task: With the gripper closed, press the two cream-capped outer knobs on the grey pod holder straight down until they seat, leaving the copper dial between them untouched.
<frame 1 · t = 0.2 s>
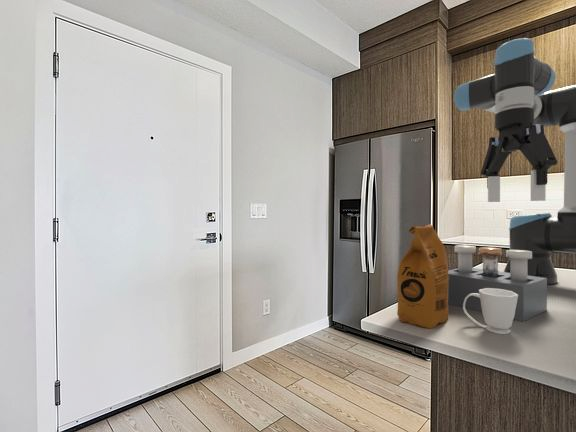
hand: (514, 201, 76), 27 cm above the table, tool pointing down, fingers open, 13 cm apart
cup: (489, 329, 69), on the table
knob 1: (465, 261, 90), point 11 cm above the table, slide at 0.0 cm
coffee package: (423, 319, 75), on the table
knob 2: (518, 268, 79), point 11 cm above the table, slide at 0.0 cm
dial knob: (490, 264, 85), point 11 cm above the table, slide at 0.0 cm
grey pod holder: (490, 305, 85), on the table
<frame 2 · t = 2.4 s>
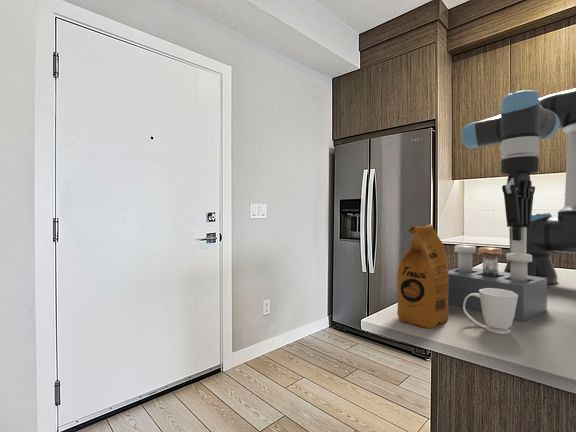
hand: (518, 253, 79), 14 cm above the table, tool pointing down, fingers closed
knob 2: (518, 271, 79), point 10 cm above the table, slide at 0.8 cm, touching gripper
everything else where it was.
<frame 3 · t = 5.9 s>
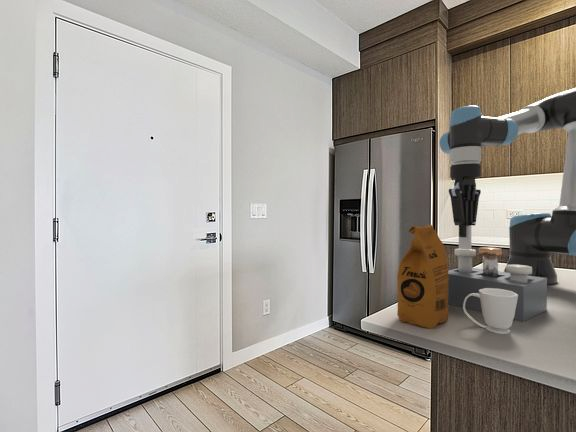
hand: (464, 248, 90), 14 cm above the table, tool pointing down, fingers closed
knob 1: (465, 264, 90), point 10 cm above the table, slide at 0.9 cm, touching gripper
knob 2: (518, 283, 79), point 7 cm above the table, slide at 3.7 cm
everything else where it was.
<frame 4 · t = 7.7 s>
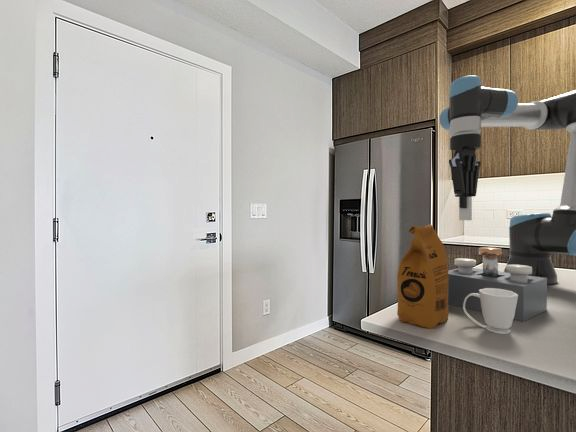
hand: (465, 220, 90), 22 cm above the table, tool pointing down, fingers closed
knob 1: (465, 274, 90), point 7 cm above the table, slide at 3.7 cm
everything else where it was.
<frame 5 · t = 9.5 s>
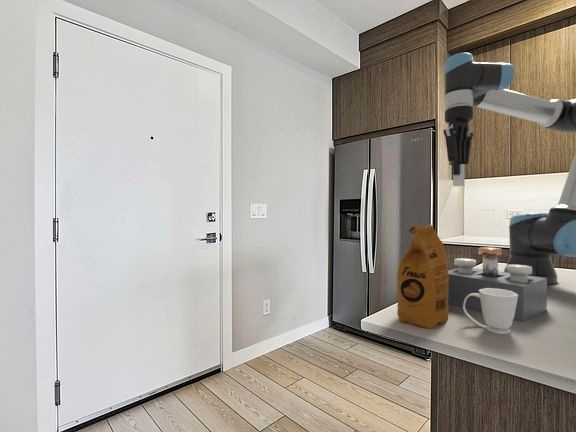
hand: (458, 186, 98), 32 cm above the table, tool pointing down, fingers closed
nothing on the table moved.
at the end: knob 2 slide at 3.7 cm; knob 1 slide at 3.7 cm; dial knob slide at 0.0 cm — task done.
